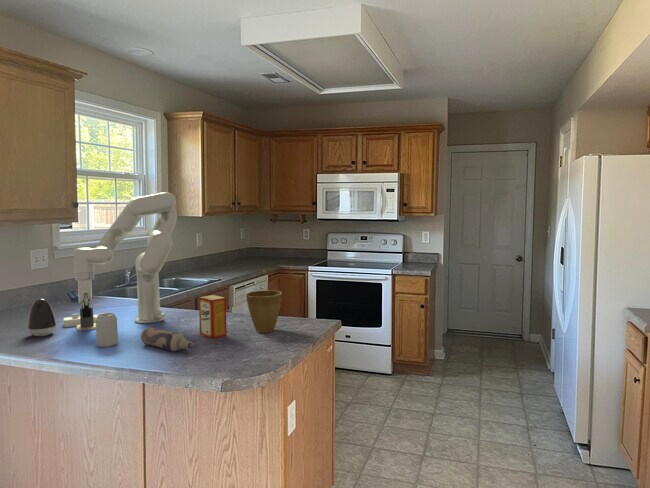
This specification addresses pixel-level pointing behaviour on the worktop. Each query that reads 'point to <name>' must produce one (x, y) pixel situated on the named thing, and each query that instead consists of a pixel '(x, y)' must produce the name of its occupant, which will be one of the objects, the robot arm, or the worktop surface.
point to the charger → (86, 319)
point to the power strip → (75, 320)
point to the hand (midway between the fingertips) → (86, 315)
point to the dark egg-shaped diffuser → (41, 318)
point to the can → (106, 330)
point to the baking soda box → (212, 316)
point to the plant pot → (264, 309)
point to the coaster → (86, 327)
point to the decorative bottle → (165, 339)
